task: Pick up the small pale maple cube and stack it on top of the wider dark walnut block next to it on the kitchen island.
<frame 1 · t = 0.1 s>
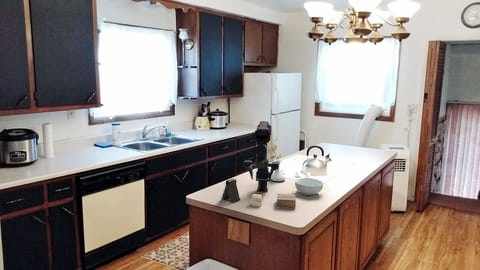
hand: (260, 180, 201), 14 cm above the counter, fingers open, 9 cm apart
dark grey tapered block: (230, 200, 212), on the counter
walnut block: (285, 205, 206), on the counter
flower in vase: (275, 180, 253), on the counter
cereal bowl: (308, 193, 228), on the counter
maple cube: (256, 204, 205), on the counter
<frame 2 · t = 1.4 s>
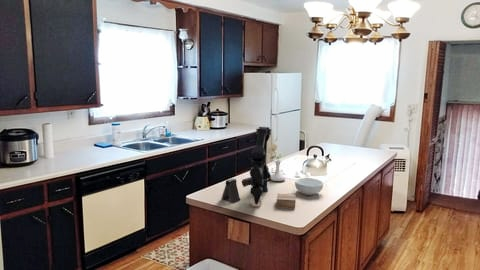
hand: (256, 201, 205), 2 cm above the counter, fingers open, 9 cm apart
nothing on the counter moved.
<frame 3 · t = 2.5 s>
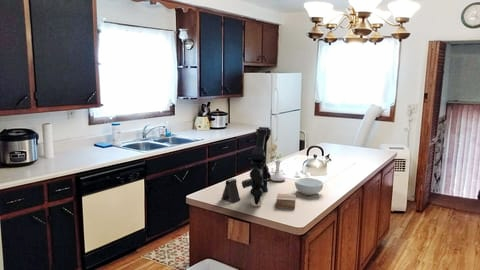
hand: (256, 202, 205), 1 cm above the counter, fingers closed on maple cube, 5 cm apart
maple cube: (256, 204, 205), on the counter, touching gripper
everything else where it was.
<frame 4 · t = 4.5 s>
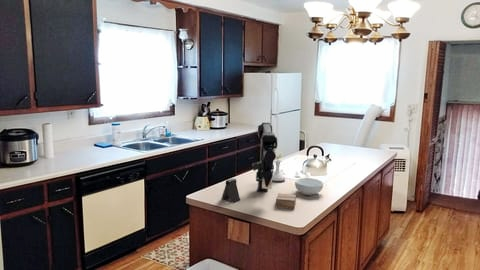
hand: (267, 185, 204), 11 cm above the counter, fingers closed on maple cube, 5 cm apart
maple cube: (266, 187, 204), point 10 cm above the counter, touching gripper
everything else where it was.
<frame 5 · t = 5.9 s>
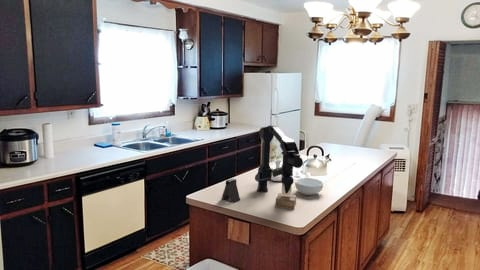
hand: (286, 191, 204), 8 cm above the counter, fingers closed on maple cube, 5 cm apart
maple cube: (286, 193, 205), point 7 cm above the counter, touching gripper
everything else where it was.
when the fingers open (7 cm above the counter, at t = 6.7 s): maple cube drops 2 cm, resting on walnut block.
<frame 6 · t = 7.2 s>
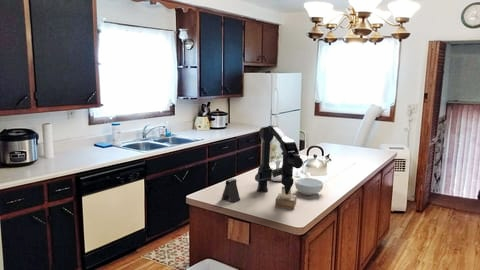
hand: (286, 191, 204), 7 cm above the counter, fingers open, 9 cm apart
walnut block: (285, 205, 206), on the counter, touching maple cube
maple cube: (286, 196, 205), point 5 cm above the counter, touching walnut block
everything else where it was.
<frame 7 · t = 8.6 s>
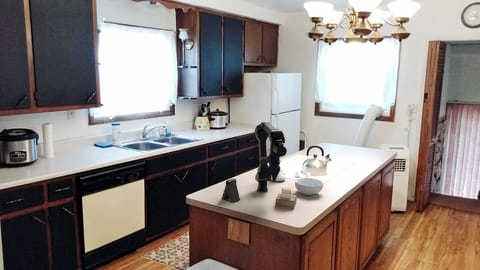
hand: (273, 179, 210), 13 cm above the counter, fingers open, 9 cm apart
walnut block: (285, 205, 206), on the counter
maple cube: (286, 196, 205), point 5 cm above the counter
everything else where it was.
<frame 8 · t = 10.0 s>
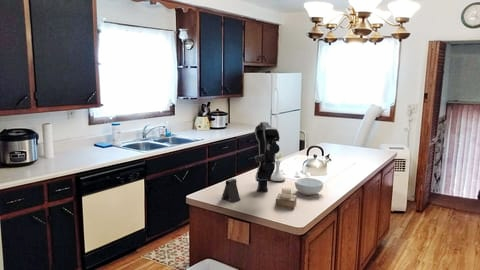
hand: (269, 177, 212), 13 cm above the counter, fingers open, 9 cm apart
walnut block: (286, 205, 206), on the counter, touching maple cube
maple cube: (286, 196, 205), point 5 cm above the counter, touching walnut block
everything else where it was.
at the end: maple cube 0.4 cm off-centre on the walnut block, point 5.0 cm above the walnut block's base; maple cube tilted 1°; the gripper is holding nothing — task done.
